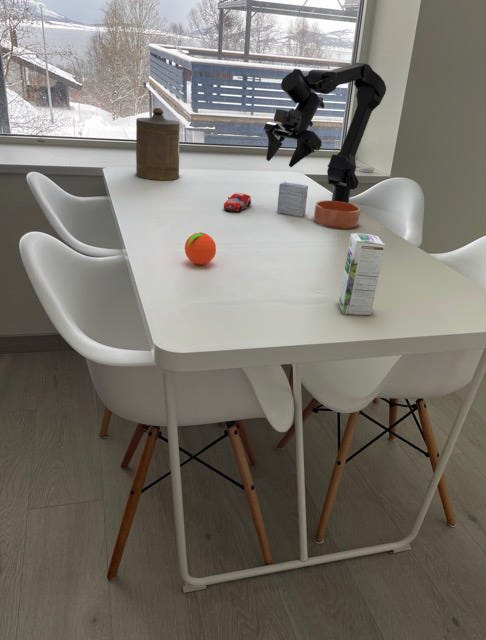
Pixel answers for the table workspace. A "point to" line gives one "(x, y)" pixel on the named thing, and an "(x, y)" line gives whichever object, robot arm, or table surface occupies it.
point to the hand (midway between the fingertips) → (278, 163)
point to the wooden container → (157, 147)
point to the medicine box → (292, 199)
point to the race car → (237, 202)
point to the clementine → (200, 248)
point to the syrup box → (361, 274)
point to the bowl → (336, 214)
